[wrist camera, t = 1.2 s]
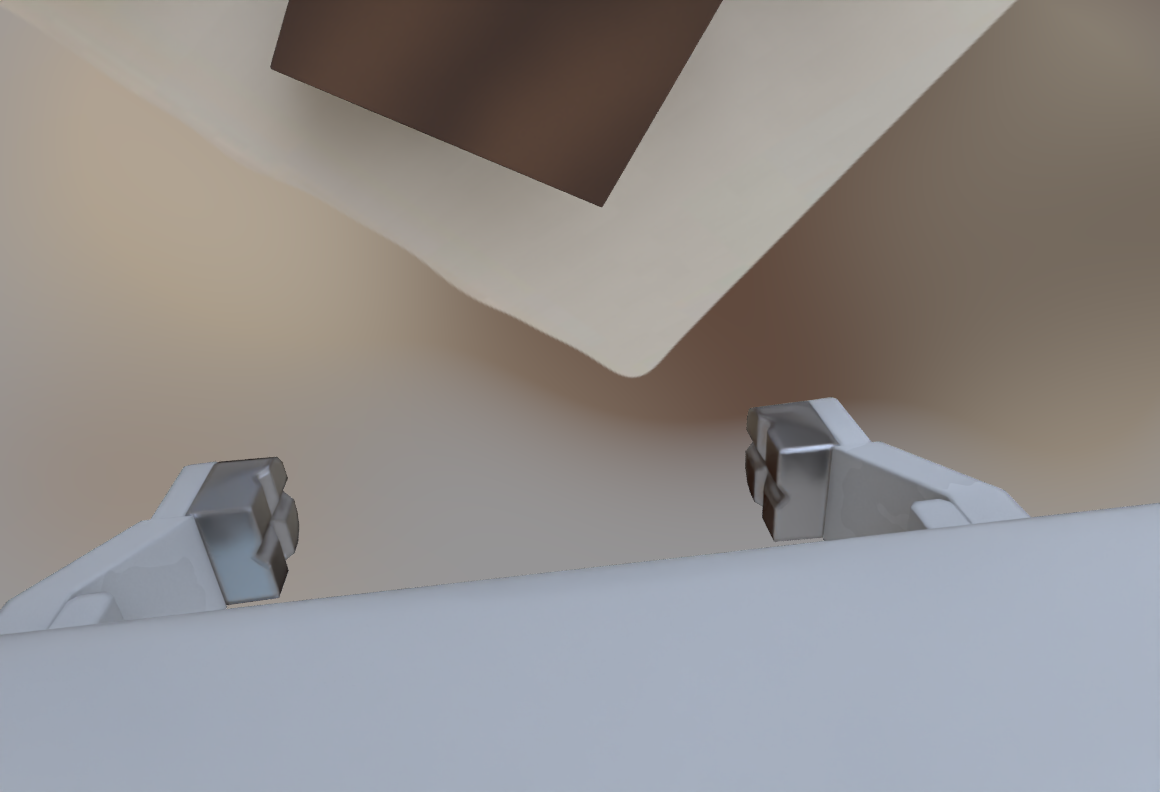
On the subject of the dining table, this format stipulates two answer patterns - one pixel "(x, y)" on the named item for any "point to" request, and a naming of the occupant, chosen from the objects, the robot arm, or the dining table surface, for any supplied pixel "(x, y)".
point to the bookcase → (504, 74)
